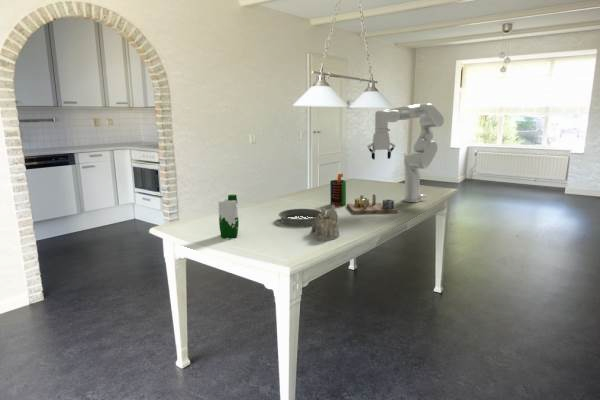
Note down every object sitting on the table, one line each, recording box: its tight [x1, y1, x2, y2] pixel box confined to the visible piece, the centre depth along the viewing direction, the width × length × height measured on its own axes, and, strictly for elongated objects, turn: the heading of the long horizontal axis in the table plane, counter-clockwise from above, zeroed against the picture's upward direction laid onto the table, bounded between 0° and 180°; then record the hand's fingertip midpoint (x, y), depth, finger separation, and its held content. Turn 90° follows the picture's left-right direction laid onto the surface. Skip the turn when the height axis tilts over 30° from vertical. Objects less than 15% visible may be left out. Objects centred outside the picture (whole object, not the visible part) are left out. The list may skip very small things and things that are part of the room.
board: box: [346, 194, 398, 215], centre depth 249 cm, size 26×20×8 cm
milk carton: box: [218, 194, 239, 239], centre depth 196 cm, size 9×9×20 cm
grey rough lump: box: [309, 205, 341, 242], centre depth 196 cm, size 16×16×15 cm
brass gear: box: [354, 197, 370, 207], centre depth 253 cm, size 9×9×4 cm
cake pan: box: [278, 208, 321, 227], centre depth 225 cm, size 25×25×4 cm
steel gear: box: [382, 199, 395, 209], centre depth 245 cm, size 7×7×4 cm
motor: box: [329, 173, 347, 207], centre depth 264 cm, size 10×9×20 cm
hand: (381, 158), depth 255 cm, fingers open, 9 cm apart
